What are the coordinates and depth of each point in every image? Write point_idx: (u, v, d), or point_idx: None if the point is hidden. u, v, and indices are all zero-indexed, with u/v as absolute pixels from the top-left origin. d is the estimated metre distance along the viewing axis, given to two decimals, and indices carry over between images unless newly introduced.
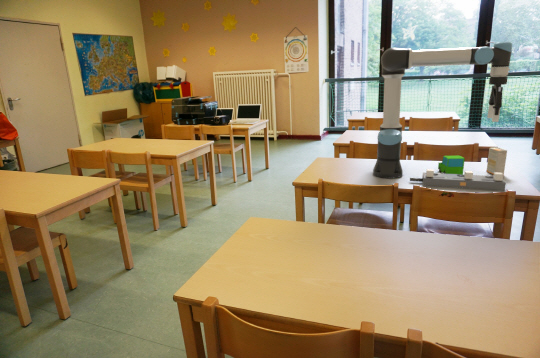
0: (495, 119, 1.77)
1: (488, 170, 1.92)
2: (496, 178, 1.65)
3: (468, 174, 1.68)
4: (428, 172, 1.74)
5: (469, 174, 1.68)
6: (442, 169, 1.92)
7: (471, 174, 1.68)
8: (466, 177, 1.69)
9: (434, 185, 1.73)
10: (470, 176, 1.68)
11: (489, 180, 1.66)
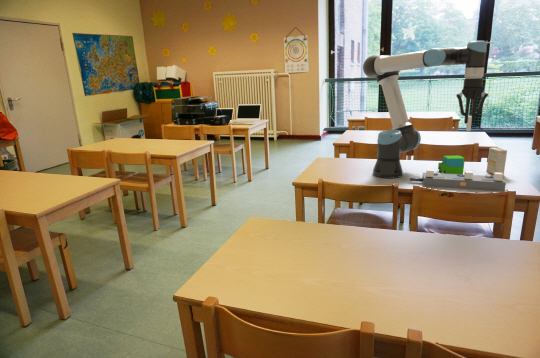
0: (466, 127, 1.69)
1: (488, 170, 1.92)
2: (496, 178, 1.65)
3: (468, 174, 1.68)
4: (428, 172, 1.74)
5: (469, 174, 1.68)
6: (442, 169, 1.92)
7: (471, 174, 1.68)
8: (466, 177, 1.69)
9: (434, 185, 1.73)
10: (470, 176, 1.68)
11: (489, 180, 1.66)
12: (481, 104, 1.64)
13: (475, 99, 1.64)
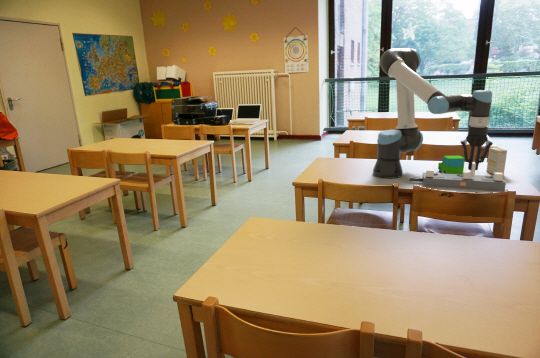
0: None
1: (488, 170, 1.92)
2: (496, 178, 1.65)
3: (466, 174, 1.68)
4: (428, 172, 1.74)
5: (467, 174, 1.68)
6: (442, 169, 1.92)
7: (469, 174, 1.68)
8: (464, 177, 1.69)
9: (434, 185, 1.73)
10: (468, 176, 1.68)
11: (489, 180, 1.66)
12: (485, 152, 1.64)
13: (479, 147, 1.63)
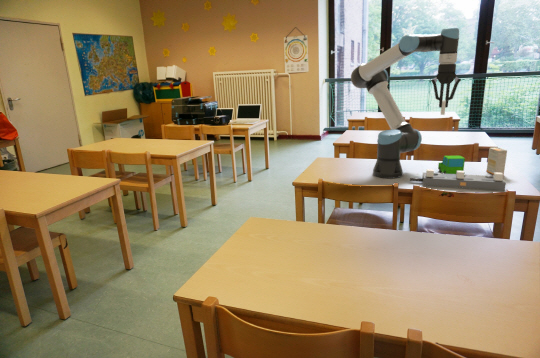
0: (441, 112, 1.77)
1: (488, 170, 1.92)
2: (496, 178, 1.65)
3: (460, 174, 1.69)
4: (428, 172, 1.74)
5: (461, 174, 1.69)
6: (442, 169, 1.92)
7: (463, 174, 1.69)
8: (458, 177, 1.70)
9: (434, 185, 1.73)
10: (462, 176, 1.69)
11: (489, 180, 1.66)
12: (454, 89, 1.71)
13: (448, 84, 1.71)
